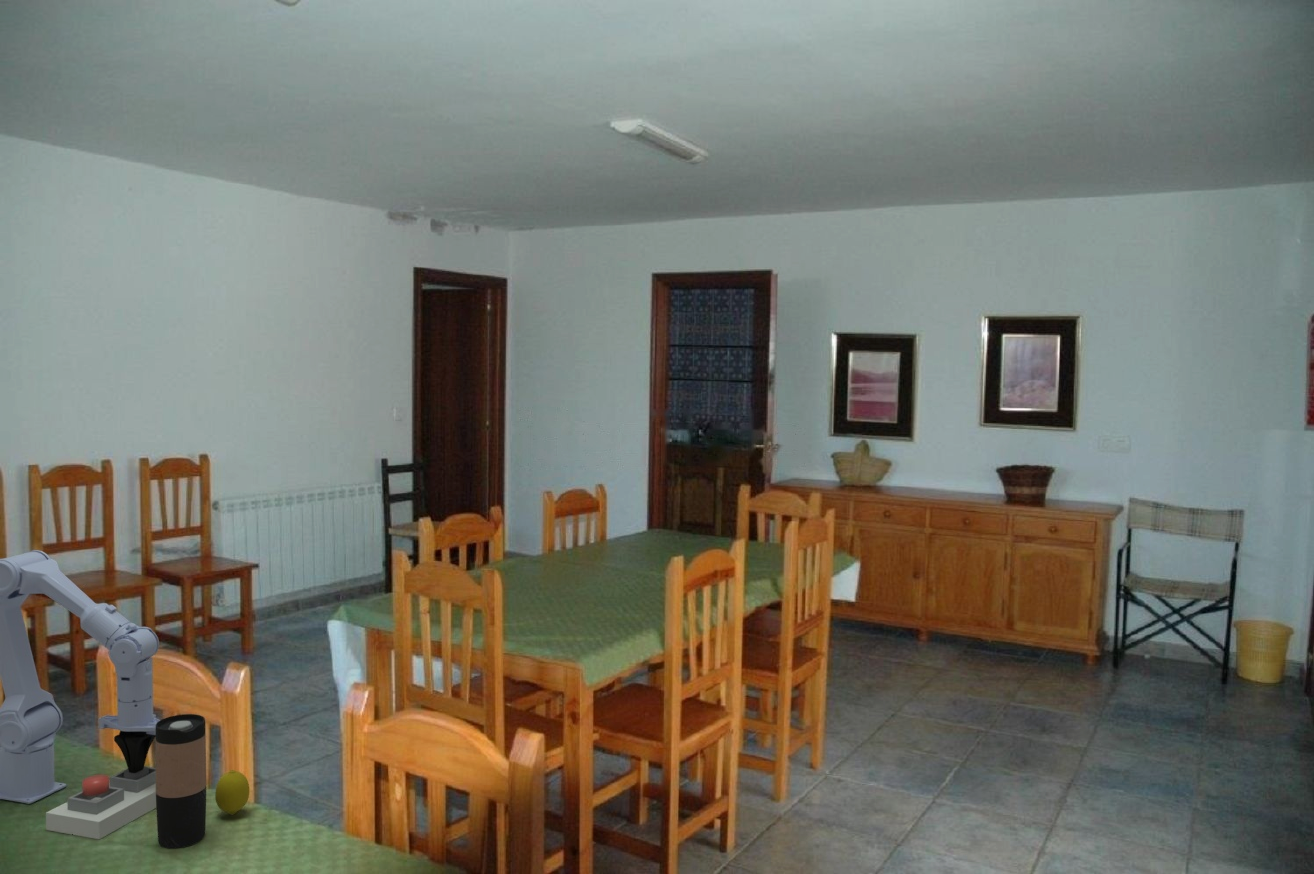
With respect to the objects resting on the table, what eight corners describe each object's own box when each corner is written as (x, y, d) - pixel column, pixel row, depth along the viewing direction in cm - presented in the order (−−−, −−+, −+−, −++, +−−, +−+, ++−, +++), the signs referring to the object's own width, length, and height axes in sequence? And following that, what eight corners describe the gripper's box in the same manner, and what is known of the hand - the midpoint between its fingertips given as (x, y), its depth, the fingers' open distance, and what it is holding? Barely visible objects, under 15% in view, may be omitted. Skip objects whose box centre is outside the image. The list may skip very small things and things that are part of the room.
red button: (76, 793, 169) (76, 782, 169) (95, 784, 173) (95, 773, 173) (96, 796, 168) (95, 785, 168) (114, 787, 172) (114, 776, 172)
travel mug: (171, 826, 170) (169, 712, 168) (215, 828, 170) (214, 714, 168) (146, 848, 162) (145, 729, 161) (193, 850, 162) (191, 730, 161)
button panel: (46, 829, 168) (45, 801, 167) (132, 784, 186) (132, 758, 186) (99, 839, 165) (98, 810, 165) (182, 792, 183) (181, 766, 183)
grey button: (118, 784, 178) (118, 773, 178) (135, 775, 182) (135, 764, 182) (137, 787, 177) (136, 776, 177) (153, 778, 181) (153, 767, 181)
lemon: (254, 807, 178) (253, 764, 177) (242, 821, 172) (242, 776, 172) (222, 807, 178) (222, 763, 177) (210, 821, 172) (209, 776, 172)
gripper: (185, 694, 180) (186, 767, 181) (119, 686, 184) (120, 757, 185) (156, 707, 174) (157, 782, 175) (88, 698, 177) (89, 772, 178)
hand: (136, 770), depth 179 cm, fingers closed, pressing on grey button
